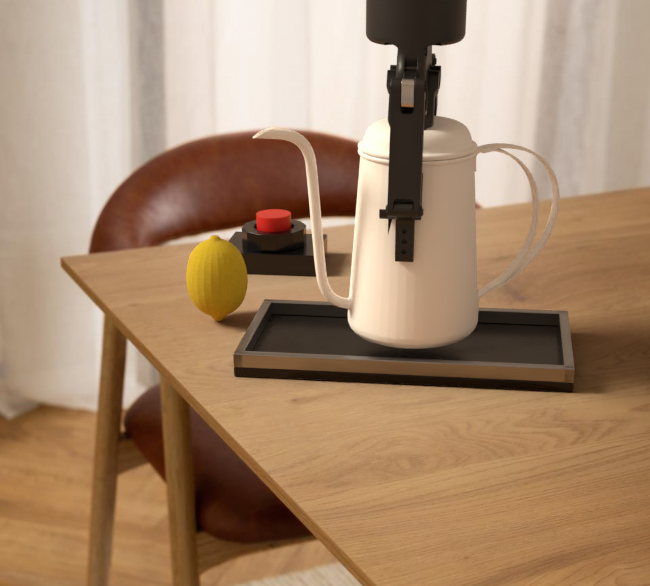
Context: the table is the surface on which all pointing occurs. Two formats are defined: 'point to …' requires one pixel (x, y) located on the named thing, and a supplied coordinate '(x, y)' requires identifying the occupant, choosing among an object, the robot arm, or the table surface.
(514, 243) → the table surface
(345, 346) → the drip pan
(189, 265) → the lemon
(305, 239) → the button box
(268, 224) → the button
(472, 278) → the coffeepot
